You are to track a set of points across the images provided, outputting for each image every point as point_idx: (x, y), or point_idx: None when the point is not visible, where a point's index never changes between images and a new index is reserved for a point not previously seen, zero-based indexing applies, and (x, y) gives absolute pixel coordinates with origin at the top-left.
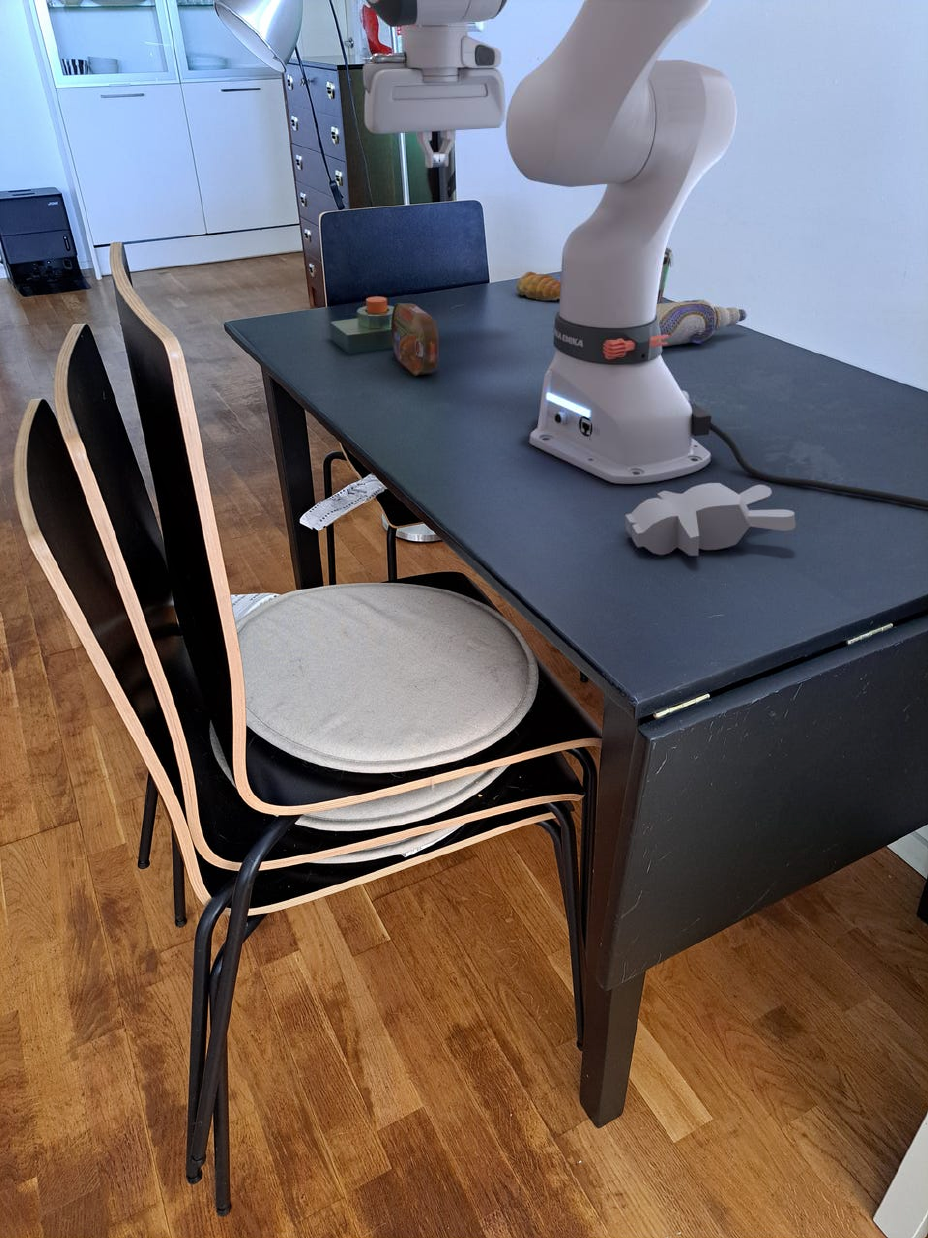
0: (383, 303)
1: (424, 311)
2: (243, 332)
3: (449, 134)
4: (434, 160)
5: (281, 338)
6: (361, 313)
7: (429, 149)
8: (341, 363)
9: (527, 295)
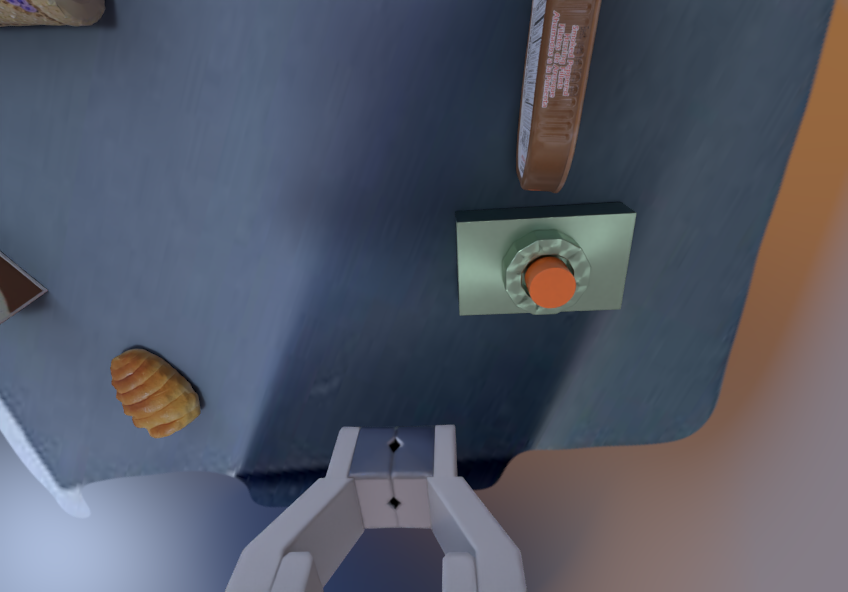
0: (544, 266)
1: (546, 44)
2: (713, 388)
3: (282, 584)
4: (425, 446)
5: (677, 338)
6: (589, 266)
7: (462, 496)
8: (660, 155)
9: (189, 385)
